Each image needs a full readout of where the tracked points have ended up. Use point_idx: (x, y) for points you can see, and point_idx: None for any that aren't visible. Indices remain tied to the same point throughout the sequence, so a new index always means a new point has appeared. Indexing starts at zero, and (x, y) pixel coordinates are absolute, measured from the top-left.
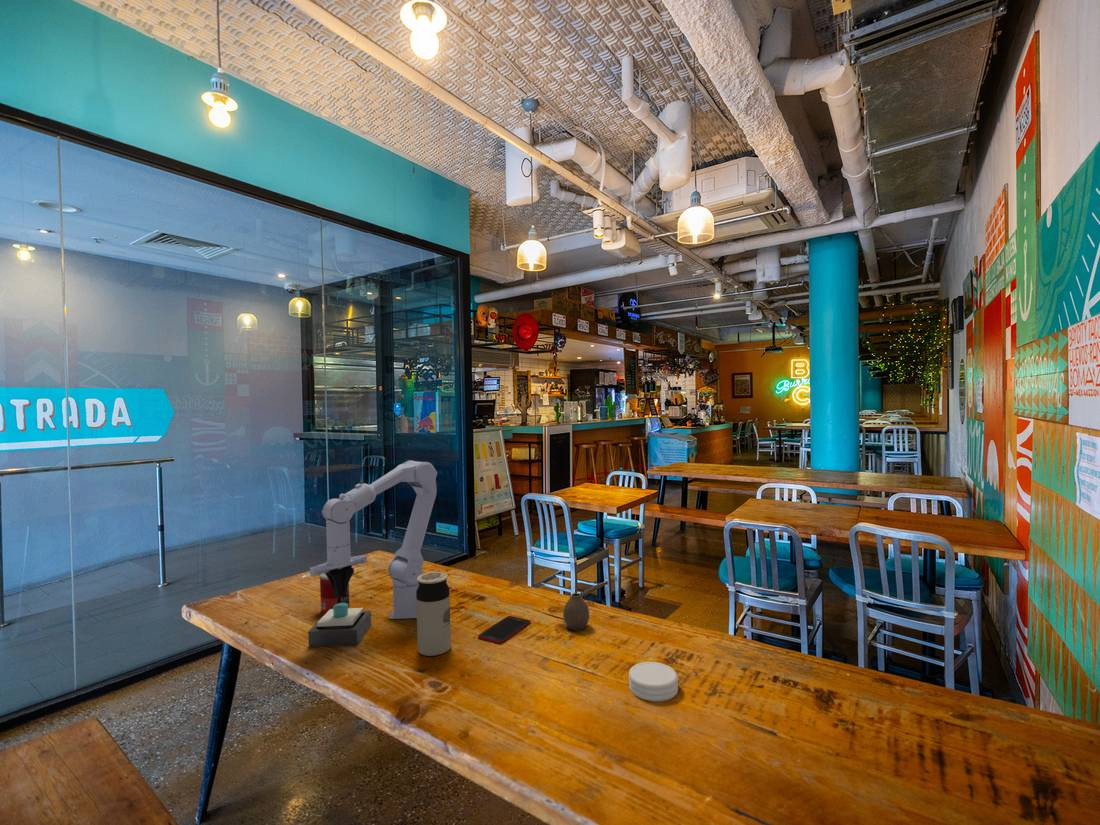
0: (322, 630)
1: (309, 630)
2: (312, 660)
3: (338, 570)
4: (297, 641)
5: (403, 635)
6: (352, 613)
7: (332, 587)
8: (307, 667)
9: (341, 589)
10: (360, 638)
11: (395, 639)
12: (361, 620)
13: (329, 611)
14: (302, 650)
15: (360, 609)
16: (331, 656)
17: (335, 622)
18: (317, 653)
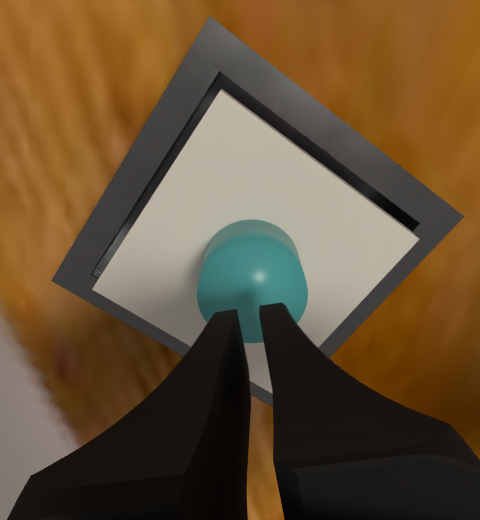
0: (125, 315)
1: (59, 269)
2: (85, 370)
3: (285, 506)
4: (34, 128)
5: (464, 392)
6: (320, 289)
7: (184, 356)
8: (63, 409)
9: (271, 379)
10: None
11: (418, 403)
12: (345, 324)
13: (203, 142)
14: (53, 256)
15: (391, 257)
16: (157, 384)
17: (192, 344)
18: (111, 326)
